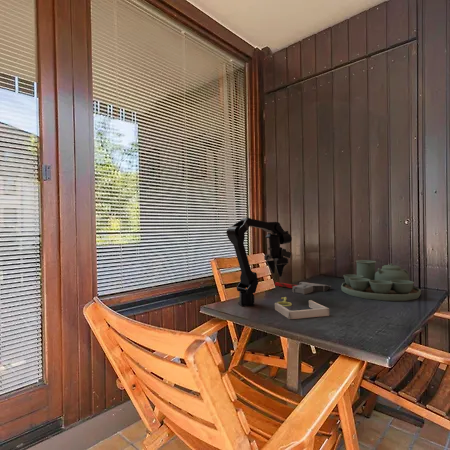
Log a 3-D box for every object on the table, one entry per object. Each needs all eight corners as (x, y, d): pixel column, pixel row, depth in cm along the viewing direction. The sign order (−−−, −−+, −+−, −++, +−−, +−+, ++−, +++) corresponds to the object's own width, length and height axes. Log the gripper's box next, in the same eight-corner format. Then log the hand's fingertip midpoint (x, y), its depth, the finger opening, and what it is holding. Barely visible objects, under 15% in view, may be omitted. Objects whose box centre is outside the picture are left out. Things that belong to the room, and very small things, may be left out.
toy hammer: (288, 277, 205) (331, 283, 184) (288, 283, 205) (331, 289, 184) (267, 282, 188) (311, 289, 167) (267, 289, 188) (311, 296, 167)
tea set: (327, 292, 176) (327, 263, 176) (364, 283, 200) (363, 258, 200) (400, 306, 145) (400, 271, 145) (433, 294, 169) (433, 264, 169)
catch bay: (289, 319, 126) (289, 311, 126) (274, 309, 141) (274, 303, 141) (329, 315, 130) (329, 308, 130) (311, 306, 145) (311, 300, 145)
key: (286, 300, 159) (286, 296, 159) (293, 307, 147) (293, 302, 147) (272, 301, 158) (272, 296, 158) (278, 307, 146) (278, 303, 146)
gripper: (296, 245, 154) (299, 276, 155) (281, 242, 172) (283, 270, 173) (276, 248, 152) (278, 279, 153) (262, 244, 170) (265, 272, 171)
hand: (276, 274), depth 162 cm, fingers open, 9 cm apart
